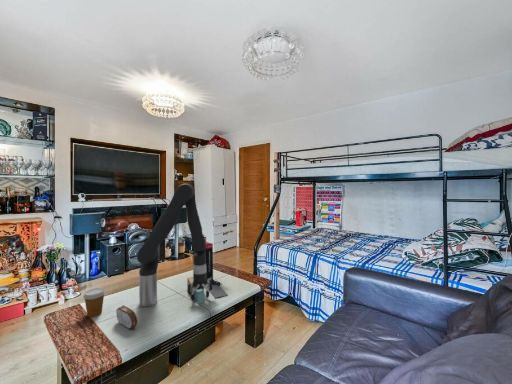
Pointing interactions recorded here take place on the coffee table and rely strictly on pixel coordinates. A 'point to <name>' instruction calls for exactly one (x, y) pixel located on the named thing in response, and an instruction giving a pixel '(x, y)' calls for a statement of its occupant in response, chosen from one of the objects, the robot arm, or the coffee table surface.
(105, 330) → the coffee table surface
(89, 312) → the disposable coffee cup
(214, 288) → the mat
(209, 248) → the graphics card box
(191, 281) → the sleeve
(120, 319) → the brown grey rounded block
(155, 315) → the coffee table surface
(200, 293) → the grey-blue block
